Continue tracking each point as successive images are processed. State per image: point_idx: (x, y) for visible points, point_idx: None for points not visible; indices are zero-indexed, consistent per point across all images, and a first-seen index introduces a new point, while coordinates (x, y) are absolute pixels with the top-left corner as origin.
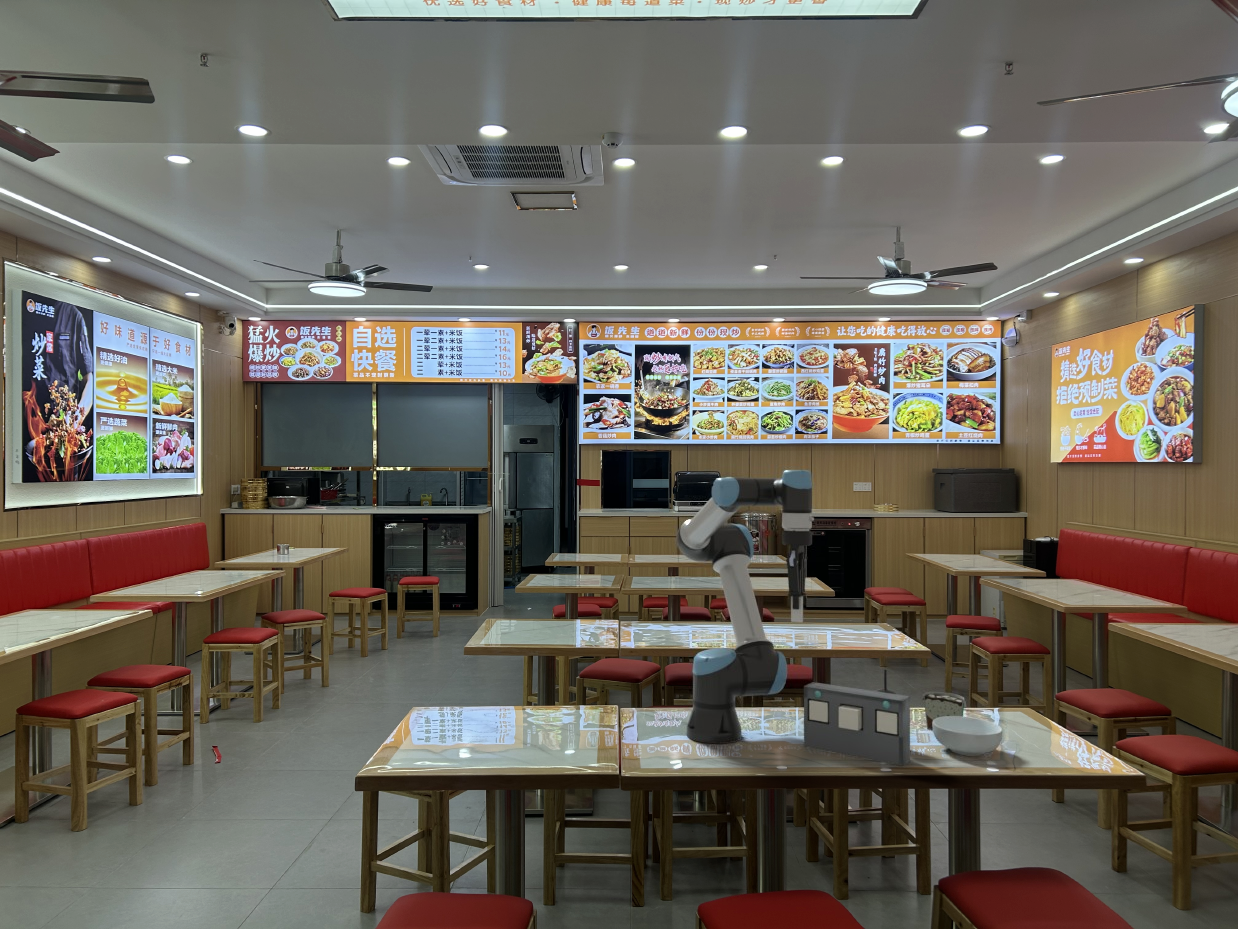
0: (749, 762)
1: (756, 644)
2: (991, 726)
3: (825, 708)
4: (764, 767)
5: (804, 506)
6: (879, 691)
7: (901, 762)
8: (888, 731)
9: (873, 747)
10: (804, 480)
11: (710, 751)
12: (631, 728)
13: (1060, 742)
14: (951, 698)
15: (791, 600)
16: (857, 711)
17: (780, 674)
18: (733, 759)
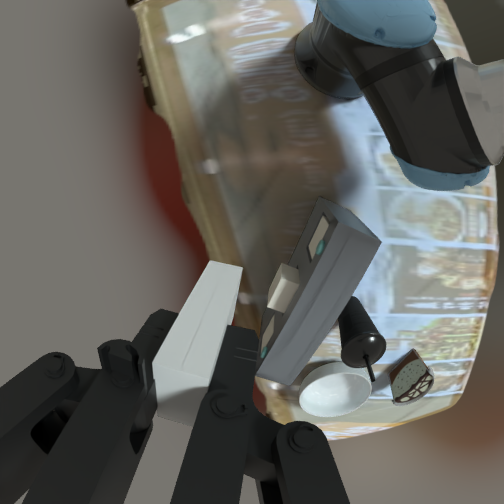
0: (218, 119)
1: (457, 107)
2: (345, 410)
3: (312, 251)
4: (202, 143)
5: None
6: (359, 348)
7: (262, 318)
8: (267, 328)
9: None
10: None
11: (255, 59)
12: None
13: (364, 426)
14: (415, 393)
15: (165, 340)
16: (267, 305)
17: (407, 170)
18: (226, 95)
